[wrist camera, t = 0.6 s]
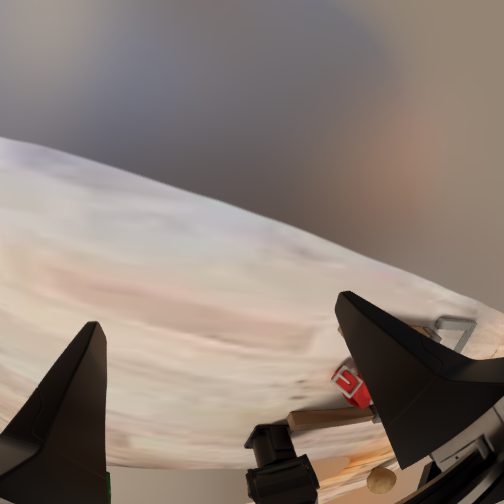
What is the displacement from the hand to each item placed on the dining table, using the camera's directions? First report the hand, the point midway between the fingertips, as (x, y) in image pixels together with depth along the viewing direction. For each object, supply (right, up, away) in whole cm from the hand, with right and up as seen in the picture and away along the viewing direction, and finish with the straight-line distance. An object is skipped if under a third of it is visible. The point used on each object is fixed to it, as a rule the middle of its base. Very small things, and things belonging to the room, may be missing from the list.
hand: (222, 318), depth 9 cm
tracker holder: (+16, -15, +25) cm, 34 cm away
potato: (+38, -63, +48) cm, 88 cm away
